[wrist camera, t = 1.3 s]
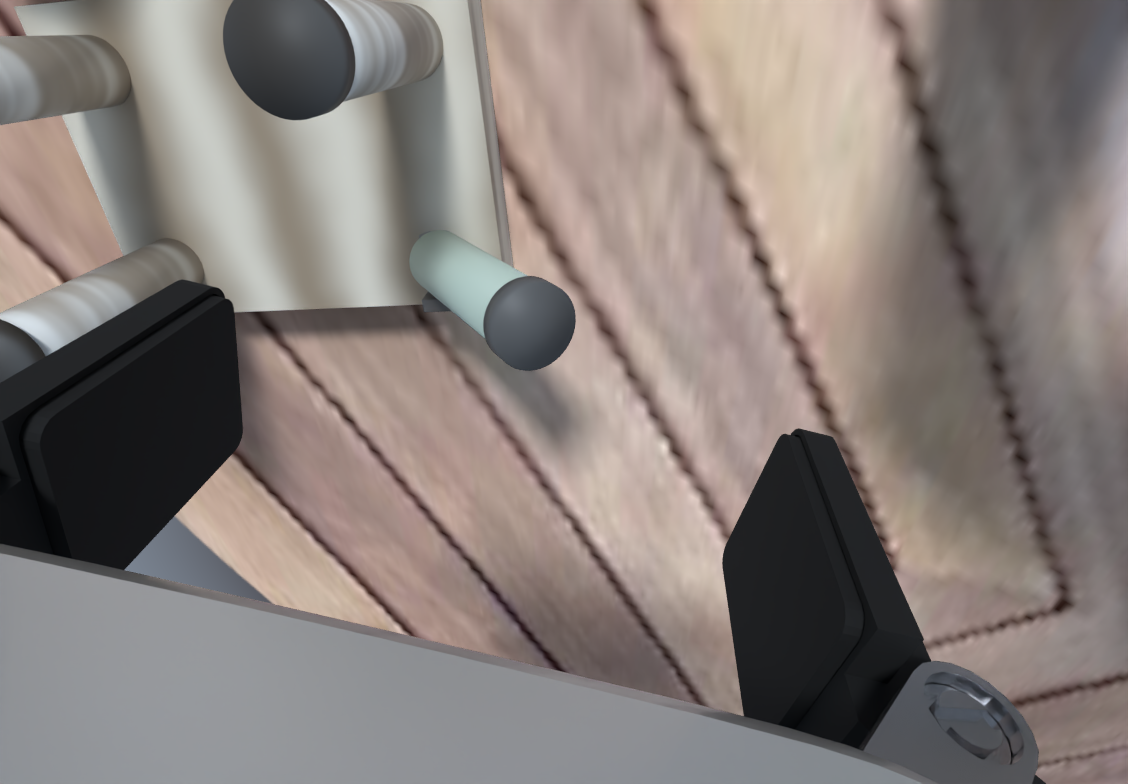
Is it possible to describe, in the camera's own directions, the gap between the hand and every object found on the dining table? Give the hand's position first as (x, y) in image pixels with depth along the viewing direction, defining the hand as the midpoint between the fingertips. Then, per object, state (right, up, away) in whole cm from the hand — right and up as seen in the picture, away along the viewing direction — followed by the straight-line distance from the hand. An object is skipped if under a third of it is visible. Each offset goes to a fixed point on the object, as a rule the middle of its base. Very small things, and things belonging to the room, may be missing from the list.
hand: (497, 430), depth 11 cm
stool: (-13, +14, +25) cm, 31 cm away
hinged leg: (-5, +8, +22) cm, 24 cm away
